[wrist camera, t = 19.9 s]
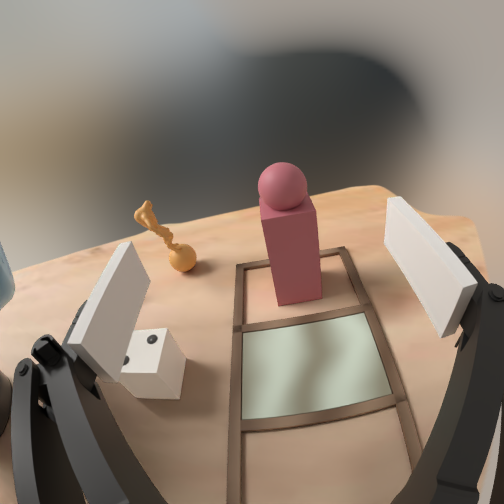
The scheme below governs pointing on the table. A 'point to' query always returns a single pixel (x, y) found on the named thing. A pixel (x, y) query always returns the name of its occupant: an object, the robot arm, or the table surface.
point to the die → (153, 365)
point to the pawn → (290, 234)
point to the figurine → (167, 239)
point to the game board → (310, 371)
